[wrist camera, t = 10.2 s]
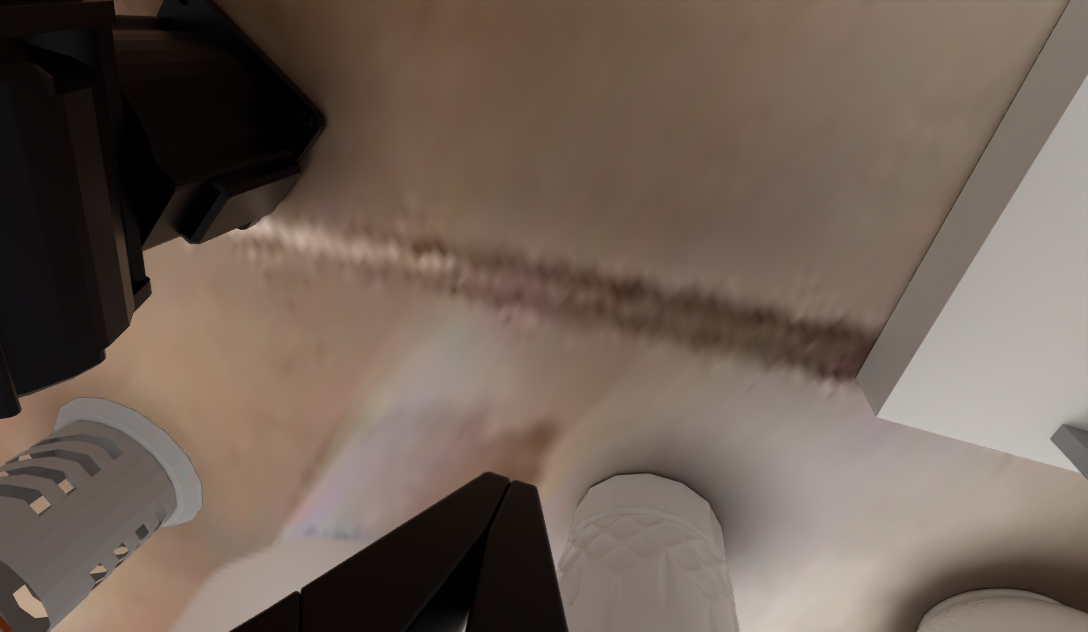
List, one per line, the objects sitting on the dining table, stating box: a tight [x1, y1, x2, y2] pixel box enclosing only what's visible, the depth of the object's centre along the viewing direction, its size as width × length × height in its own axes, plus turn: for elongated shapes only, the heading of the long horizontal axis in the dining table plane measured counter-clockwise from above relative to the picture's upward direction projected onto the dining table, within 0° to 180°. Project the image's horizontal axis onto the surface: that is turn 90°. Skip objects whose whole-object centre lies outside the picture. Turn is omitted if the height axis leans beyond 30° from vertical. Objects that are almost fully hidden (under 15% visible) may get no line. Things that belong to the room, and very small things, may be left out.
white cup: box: [556, 473, 740, 632], centre depth 21 cm, size 8×8×10 cm
